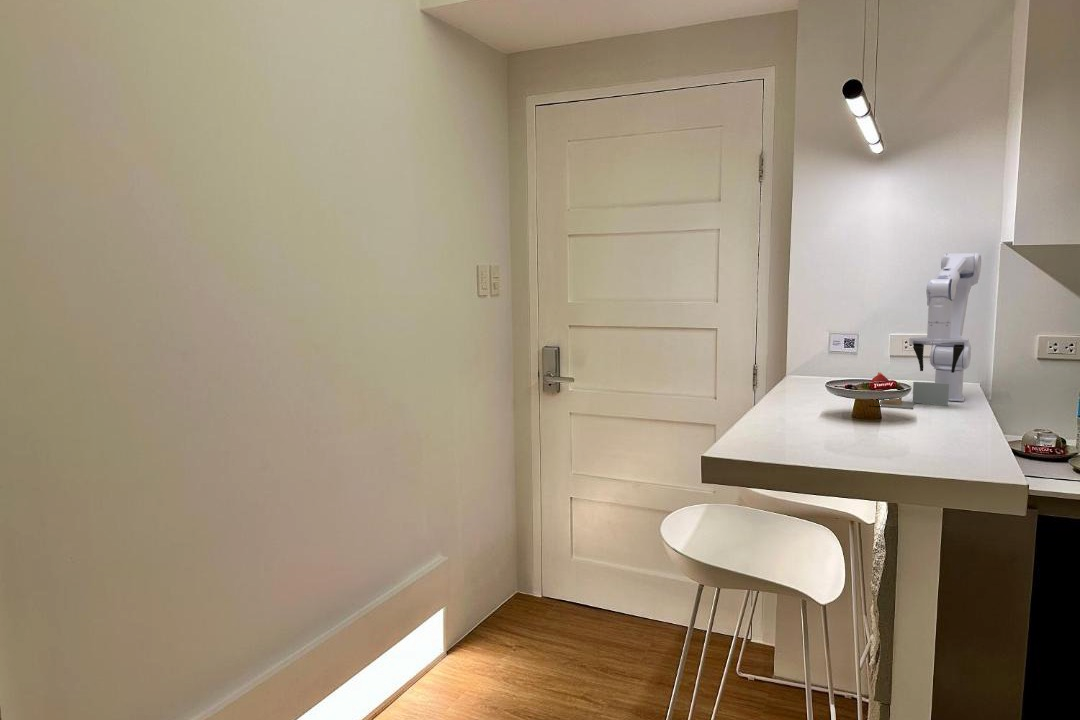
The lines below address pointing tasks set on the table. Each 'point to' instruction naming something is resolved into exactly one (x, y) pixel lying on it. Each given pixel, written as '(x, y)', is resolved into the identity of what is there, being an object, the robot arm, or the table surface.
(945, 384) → the screen
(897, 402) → the taped cardboard box
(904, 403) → the grey square plate
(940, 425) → the table surface
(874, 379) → the onion
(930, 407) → the table surface
